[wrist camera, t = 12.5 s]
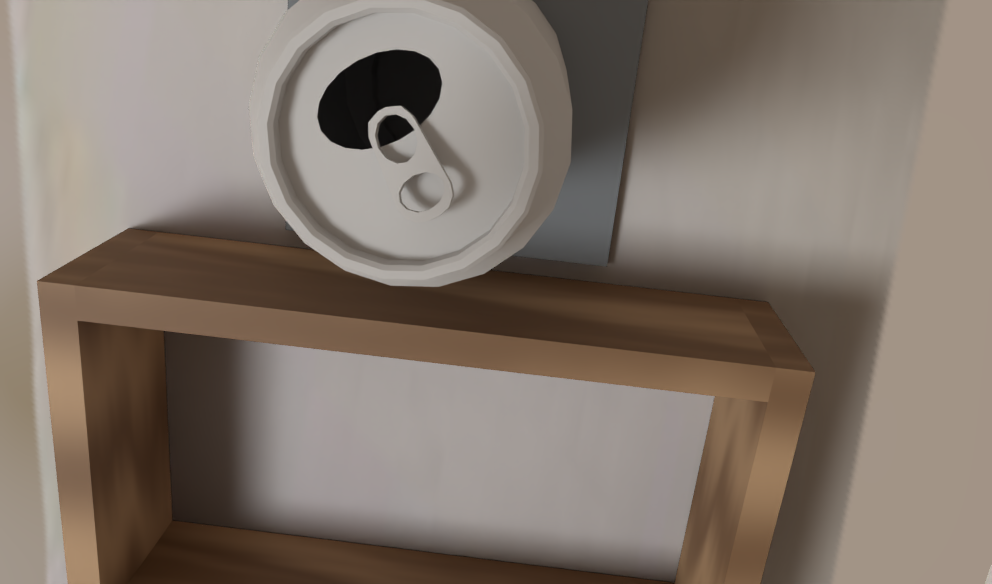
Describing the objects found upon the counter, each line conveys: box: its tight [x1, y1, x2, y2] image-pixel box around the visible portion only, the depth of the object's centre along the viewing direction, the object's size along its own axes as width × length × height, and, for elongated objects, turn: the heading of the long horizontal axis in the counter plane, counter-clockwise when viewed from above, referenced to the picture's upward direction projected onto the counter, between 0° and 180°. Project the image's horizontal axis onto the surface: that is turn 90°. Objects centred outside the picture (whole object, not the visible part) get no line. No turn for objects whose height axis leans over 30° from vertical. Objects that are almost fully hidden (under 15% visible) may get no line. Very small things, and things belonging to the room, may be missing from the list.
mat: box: [286, 0, 648, 267], centre depth 29 cm, size 12×12×1 cm
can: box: [248, 0, 572, 287], centre depth 23 cm, size 8×8×12 cm
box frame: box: [37, 228, 816, 584], centre depth 31 cm, size 14×24×6 cm, turn 84°
